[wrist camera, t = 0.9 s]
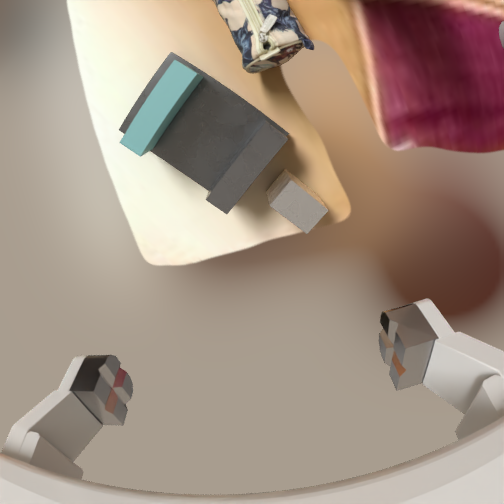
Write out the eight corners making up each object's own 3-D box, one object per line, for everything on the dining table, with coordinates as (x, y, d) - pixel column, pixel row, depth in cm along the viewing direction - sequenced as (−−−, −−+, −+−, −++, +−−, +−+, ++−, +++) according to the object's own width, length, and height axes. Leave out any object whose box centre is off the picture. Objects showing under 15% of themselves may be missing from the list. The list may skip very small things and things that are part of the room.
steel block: (285, 168, 40) (291, 180, 34) (318, 195, 41) (328, 210, 36) (266, 190, 41) (269, 205, 36) (299, 216, 43) (307, 234, 38)
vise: (174, 53, 32) (160, 45, 26) (286, 131, 37) (295, 138, 31) (124, 128, 36) (102, 135, 30) (230, 200, 42) (228, 220, 35)
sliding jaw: (184, 64, 31) (174, 59, 26) (203, 77, 32) (197, 73, 27) (134, 136, 35) (119, 142, 30) (152, 148, 36) (140, 156, 31)
